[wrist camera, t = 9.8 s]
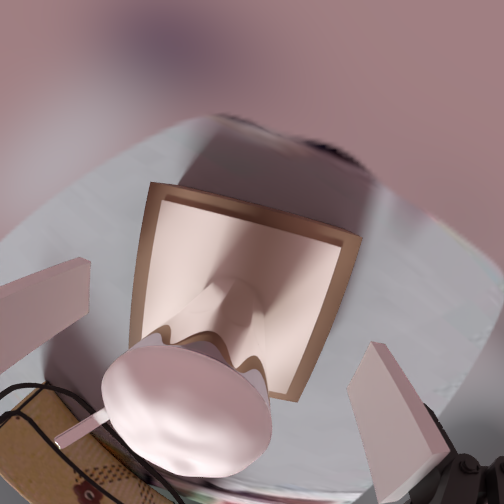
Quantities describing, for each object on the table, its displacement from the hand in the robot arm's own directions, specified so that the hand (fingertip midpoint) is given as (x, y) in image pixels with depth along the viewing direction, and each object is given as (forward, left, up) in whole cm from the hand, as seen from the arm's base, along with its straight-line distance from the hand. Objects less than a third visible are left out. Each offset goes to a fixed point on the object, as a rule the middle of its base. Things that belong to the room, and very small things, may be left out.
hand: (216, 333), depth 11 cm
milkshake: (0, 0, -3) cm, 3 cm away
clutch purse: (-9, -27, -7) cm, 30 cm away
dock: (0, 0, -7) cm, 7 cm away
